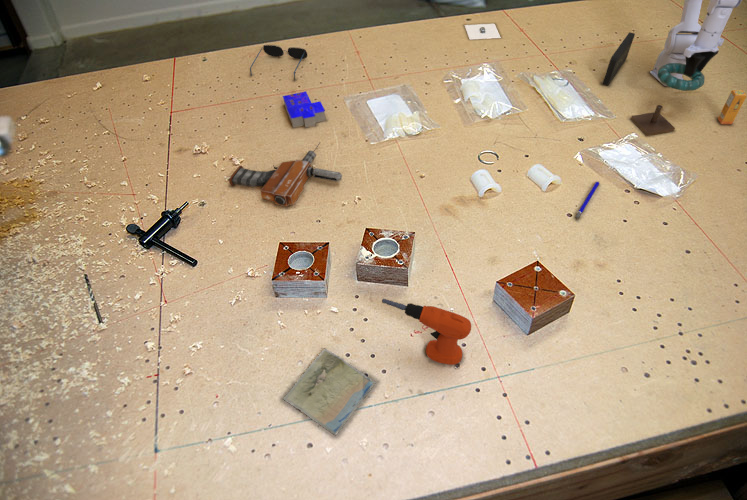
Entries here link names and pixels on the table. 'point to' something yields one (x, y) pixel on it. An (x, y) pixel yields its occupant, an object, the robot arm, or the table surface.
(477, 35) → the white square panel
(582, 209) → the pencil
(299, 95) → the blue grey stepped block
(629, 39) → the nameplate
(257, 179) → the tool
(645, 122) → the stand
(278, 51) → the sunglasses
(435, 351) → the toy drill
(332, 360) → the topographic map
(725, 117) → the supplement box
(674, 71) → the ring
